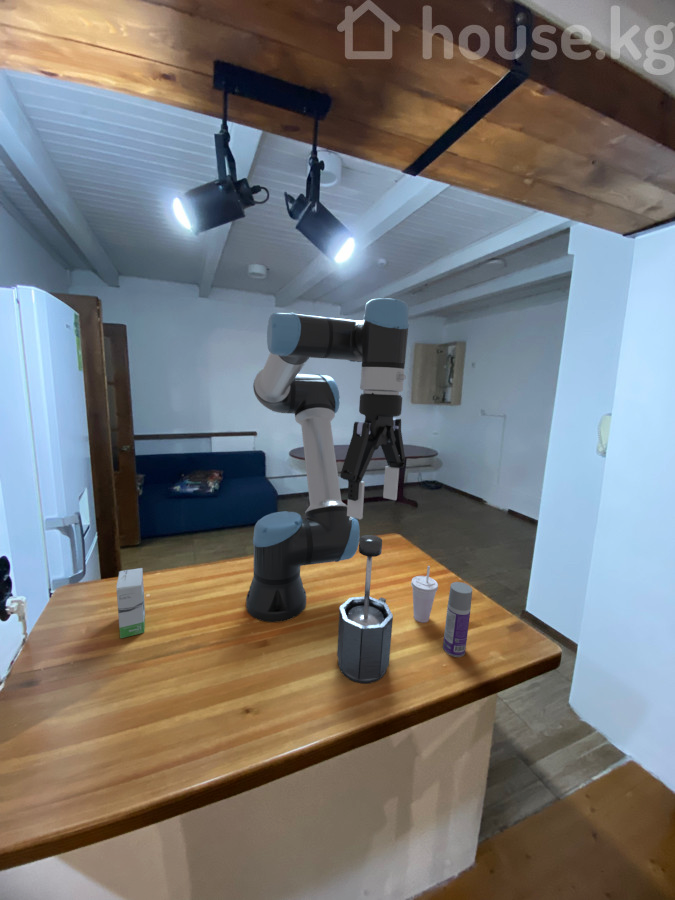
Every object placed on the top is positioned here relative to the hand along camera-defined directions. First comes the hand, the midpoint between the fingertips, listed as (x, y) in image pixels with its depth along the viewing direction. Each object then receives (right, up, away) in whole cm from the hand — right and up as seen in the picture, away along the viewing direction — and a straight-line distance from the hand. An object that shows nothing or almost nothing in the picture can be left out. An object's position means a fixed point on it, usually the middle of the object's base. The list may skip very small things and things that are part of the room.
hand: (373, 507), depth 68 cm
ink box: (-54, -29, +15) cm, 63 cm away
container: (+19, -33, +12) cm, 40 cm away
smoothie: (+14, -31, +22) cm, 41 cm away
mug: (-1, -33, +8) cm, 34 cm away
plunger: (-1, -23, +5) cm, 24 cm away
